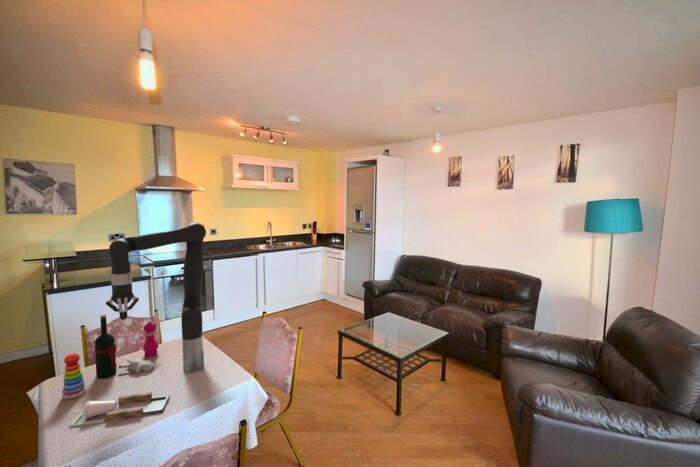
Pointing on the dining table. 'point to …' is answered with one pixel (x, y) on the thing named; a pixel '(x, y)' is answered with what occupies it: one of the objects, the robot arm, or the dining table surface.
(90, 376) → the dining table surface
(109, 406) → the smoothie
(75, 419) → the frame
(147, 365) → the bunny figurine
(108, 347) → the wine bottle
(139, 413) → the walnut channel
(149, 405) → the tray
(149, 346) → the pepper mill
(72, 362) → the stacking toy
